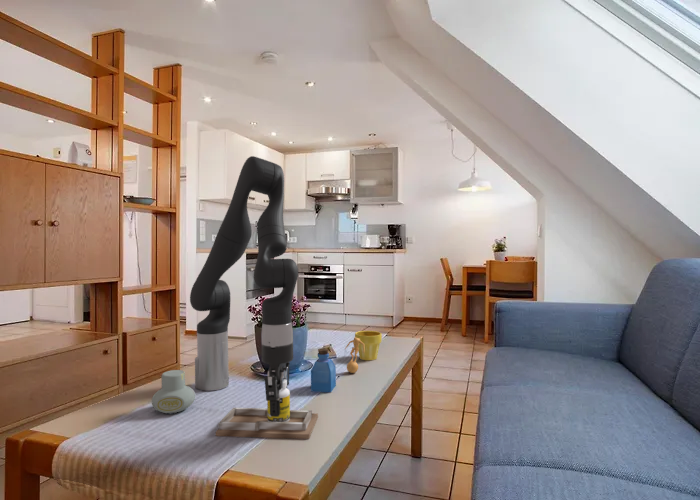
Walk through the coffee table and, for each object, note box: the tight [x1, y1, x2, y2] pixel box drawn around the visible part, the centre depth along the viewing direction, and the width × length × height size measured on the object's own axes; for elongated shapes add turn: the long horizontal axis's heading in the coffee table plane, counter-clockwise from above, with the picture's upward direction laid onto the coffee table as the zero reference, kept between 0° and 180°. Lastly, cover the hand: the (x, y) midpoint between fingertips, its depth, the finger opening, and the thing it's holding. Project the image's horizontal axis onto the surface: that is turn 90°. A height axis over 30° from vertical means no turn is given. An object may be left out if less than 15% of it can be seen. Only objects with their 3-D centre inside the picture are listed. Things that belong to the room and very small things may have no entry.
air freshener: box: [150, 369, 196, 414], centre depth 116 cm, size 11×8×10 cm
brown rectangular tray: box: [215, 407, 319, 440], centre depth 104 cm, size 22×12×2 cm, turn 85°
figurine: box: [344, 336, 365, 374], centre depth 148 cm, size 8×6×12 cm
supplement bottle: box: [266, 379, 291, 422], centre depth 104 cm, size 5×5×10 cm
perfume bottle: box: [310, 347, 337, 393], centre depth 131 cm, size 6×6×12 cm
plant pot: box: [354, 330, 383, 362], centre depth 165 cm, size 10×10×10 cm
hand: (278, 410), depth 104 cm, fingers closed on supplement bottle, 5 cm apart
